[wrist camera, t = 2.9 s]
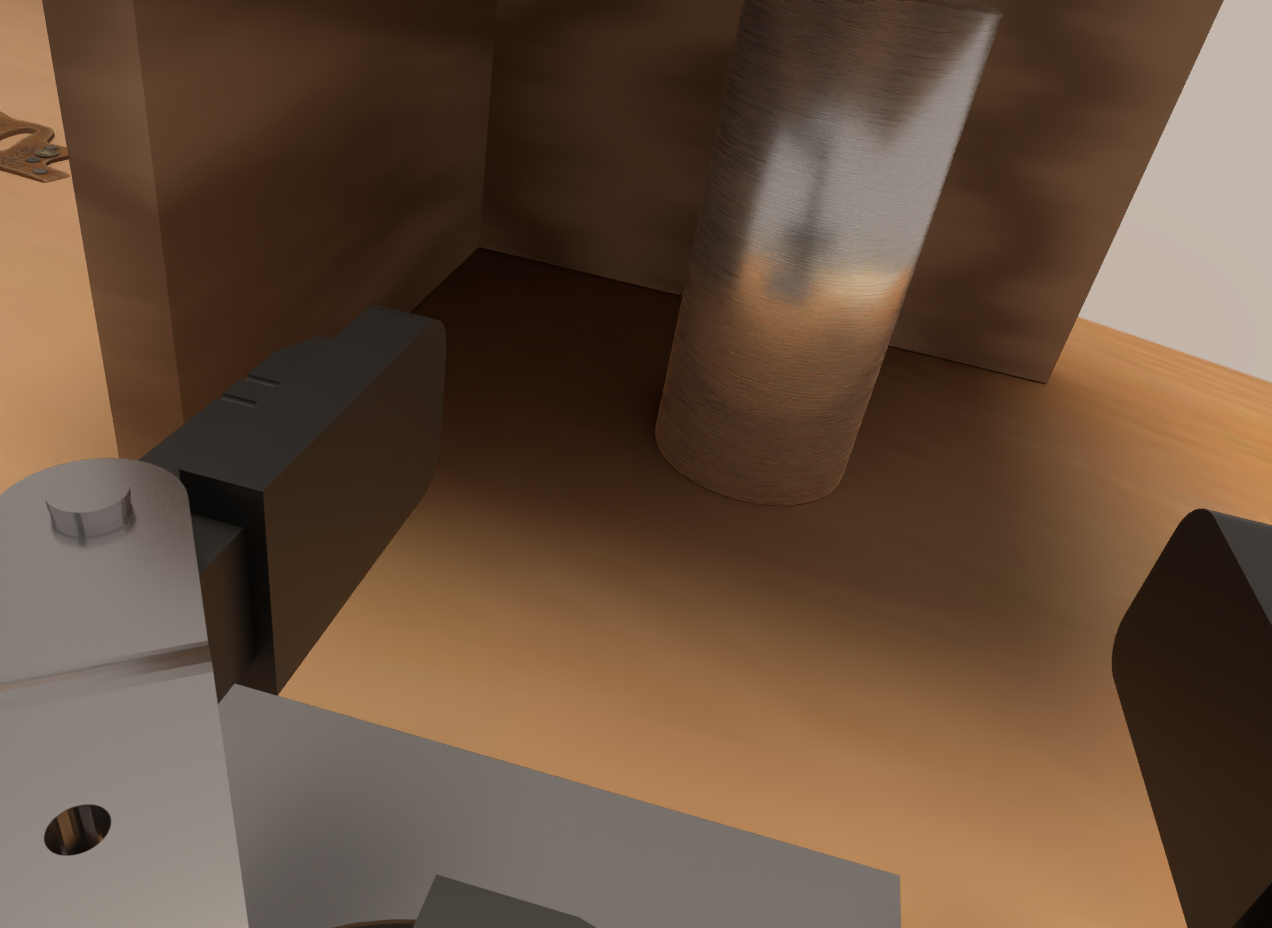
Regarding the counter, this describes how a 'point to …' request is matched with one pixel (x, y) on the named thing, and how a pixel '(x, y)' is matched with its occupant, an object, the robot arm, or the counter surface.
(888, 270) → the steel tin
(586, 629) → the counter surface
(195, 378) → the walnut desk
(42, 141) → the hand saw
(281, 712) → the rubber mat
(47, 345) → the counter surface
